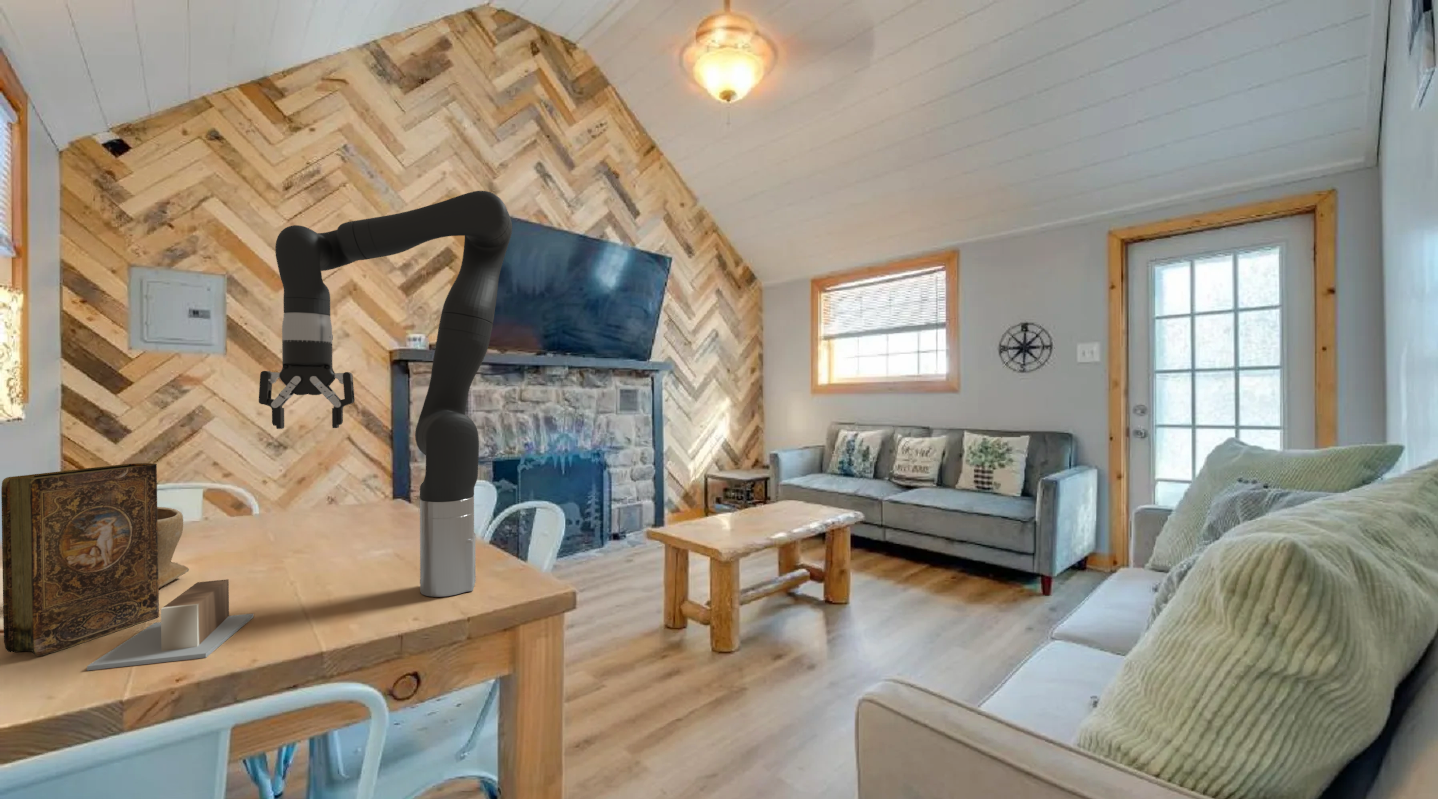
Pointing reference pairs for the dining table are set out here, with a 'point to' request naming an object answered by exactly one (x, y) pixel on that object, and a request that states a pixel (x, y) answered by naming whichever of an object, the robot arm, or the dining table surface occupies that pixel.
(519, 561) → the dining table surface
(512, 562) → the dining table surface
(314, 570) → the dining table surface
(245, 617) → the felt mat
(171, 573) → the stone cup
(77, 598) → the book
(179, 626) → the brown rectangular block
